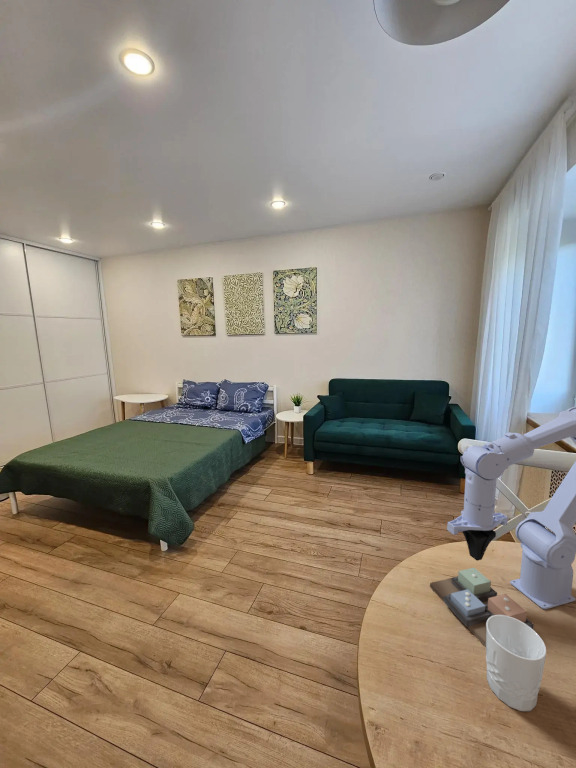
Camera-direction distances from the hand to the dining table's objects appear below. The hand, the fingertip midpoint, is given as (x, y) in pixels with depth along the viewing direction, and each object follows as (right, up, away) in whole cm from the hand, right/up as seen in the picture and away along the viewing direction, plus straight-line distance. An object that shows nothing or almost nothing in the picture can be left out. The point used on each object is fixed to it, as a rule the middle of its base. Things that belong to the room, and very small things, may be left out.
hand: (475, 557), depth 69 cm
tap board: (-1, -10, -3) cm, 10 cm away
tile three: (-4, -9, -4) cm, 11 cm away
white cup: (-5, -12, -18) cm, 22 cm away
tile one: (0, -7, +1) cm, 7 cm away
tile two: (+2, -8, -7) cm, 11 cm away
